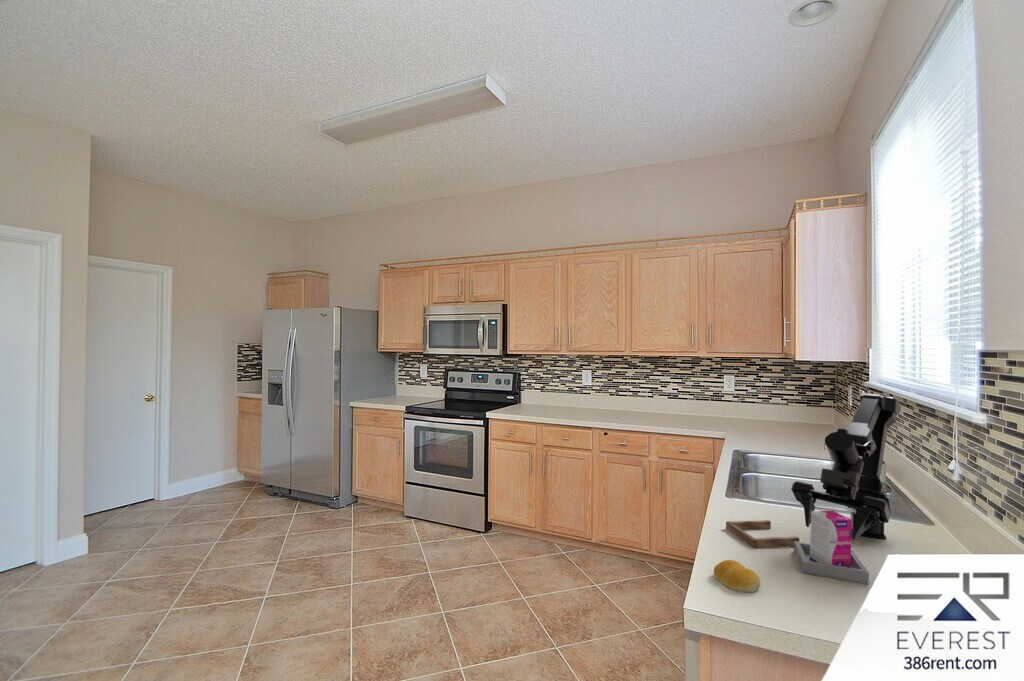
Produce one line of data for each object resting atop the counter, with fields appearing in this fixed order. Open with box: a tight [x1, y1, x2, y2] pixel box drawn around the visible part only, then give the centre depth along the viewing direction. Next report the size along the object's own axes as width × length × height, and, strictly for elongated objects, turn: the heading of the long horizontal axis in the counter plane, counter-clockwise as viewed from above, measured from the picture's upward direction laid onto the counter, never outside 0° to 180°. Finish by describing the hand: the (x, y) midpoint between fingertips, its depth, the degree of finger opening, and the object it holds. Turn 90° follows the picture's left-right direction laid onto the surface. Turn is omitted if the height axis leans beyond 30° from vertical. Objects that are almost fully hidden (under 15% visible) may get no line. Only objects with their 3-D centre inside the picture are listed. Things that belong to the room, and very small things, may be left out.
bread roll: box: [713, 559, 761, 593], centre depth 101 cm, size 8×9×4 cm
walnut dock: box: [725, 519, 800, 549], centre depth 124 cm, size 12×12×2 cm
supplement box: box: [809, 510, 853, 568], centre depth 108 cm, size 6×6×12 cm
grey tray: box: [793, 541, 870, 584], centre depth 108 cm, size 12×12×2 cm
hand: (829, 532), depth 108 cm, fingers open, 9 cm apart
